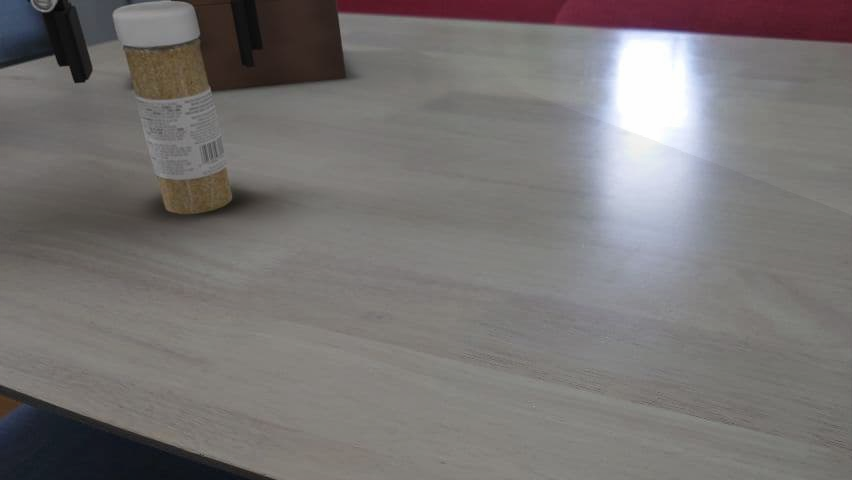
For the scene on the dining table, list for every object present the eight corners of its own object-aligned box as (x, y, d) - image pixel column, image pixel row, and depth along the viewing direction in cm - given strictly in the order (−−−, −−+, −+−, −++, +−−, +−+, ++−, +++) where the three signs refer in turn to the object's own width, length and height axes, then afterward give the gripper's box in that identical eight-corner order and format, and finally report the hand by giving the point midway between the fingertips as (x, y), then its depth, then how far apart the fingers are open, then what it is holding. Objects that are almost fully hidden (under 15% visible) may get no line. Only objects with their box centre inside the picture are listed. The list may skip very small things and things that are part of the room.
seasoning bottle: (206, 197, 58) (160, -4, 51) (252, 210, 56) (210, 2, 49) (150, 221, 54) (93, 8, 48) (197, 235, 52) (144, 15, 46)
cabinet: (193, 103, 78) (170, -3, 74) (194, 72, 89) (174, -22, 84) (347, 88, 83) (334, -13, 78) (331, 60, 93) (319, -30, 88)
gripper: (260, -261, 47) (306, 45, 56) (-89, -268, 42) (20, 69, 51) (269, -276, 41) (319, 70, 50) (-139, -287, 36) (-5, 101, 45)
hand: (168, 69), depth 50 cm, fingers open, 9 cm apart
